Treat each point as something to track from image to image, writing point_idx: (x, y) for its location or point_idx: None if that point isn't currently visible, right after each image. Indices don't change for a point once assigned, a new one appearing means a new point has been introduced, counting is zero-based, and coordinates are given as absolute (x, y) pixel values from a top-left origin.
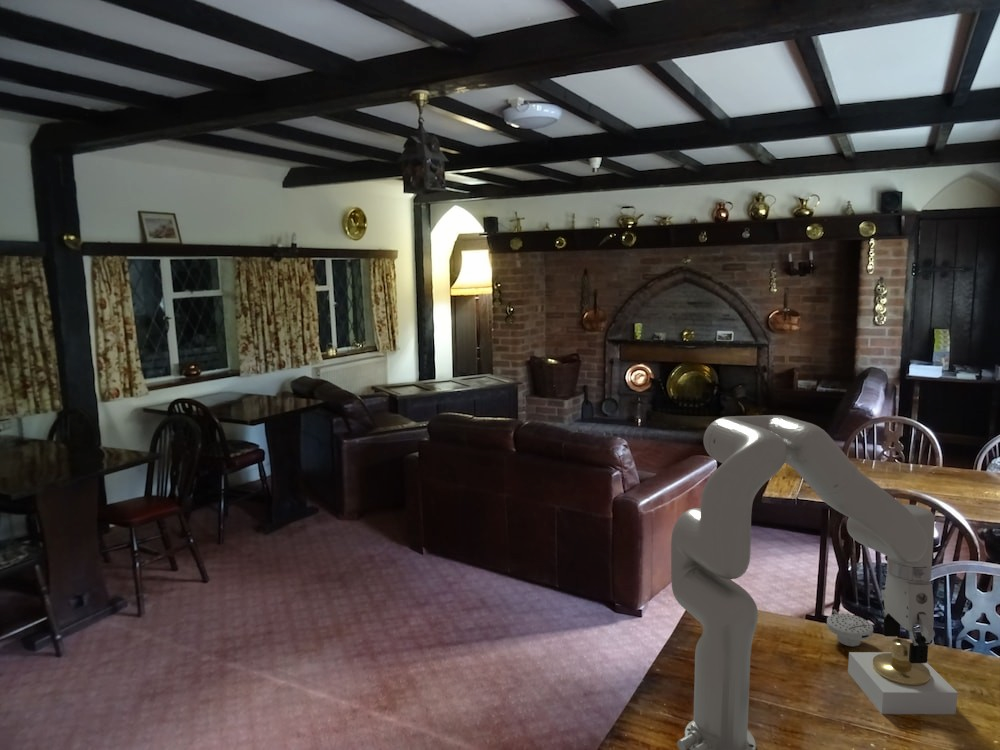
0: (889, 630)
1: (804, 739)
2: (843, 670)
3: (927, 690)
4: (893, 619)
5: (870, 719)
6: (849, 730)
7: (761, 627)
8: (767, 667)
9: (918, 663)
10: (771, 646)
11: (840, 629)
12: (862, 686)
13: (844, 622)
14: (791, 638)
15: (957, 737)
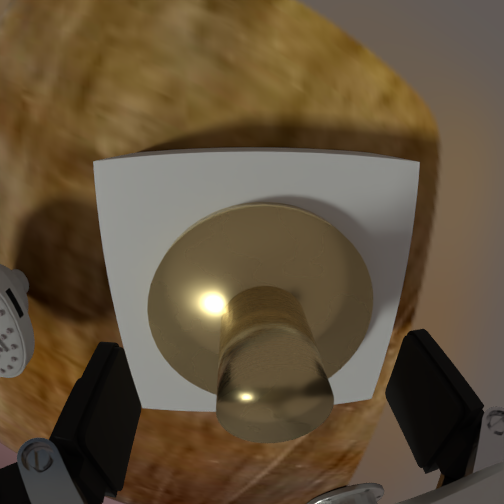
0: (129, 420)
1: (361, 450)
2: (121, 341)
3: (395, 273)
4: (105, 472)
5: None
6: (359, 401)
7: (12, 404)
8: (150, 453)
9: (231, 229)
10: None
11: (17, 369)
12: None
13: None
14: (24, 378)
15: (425, 193)
